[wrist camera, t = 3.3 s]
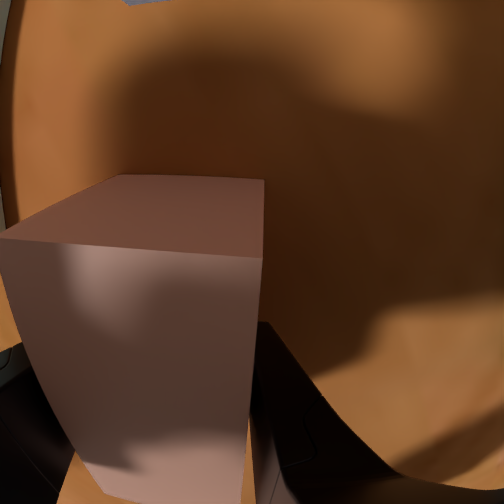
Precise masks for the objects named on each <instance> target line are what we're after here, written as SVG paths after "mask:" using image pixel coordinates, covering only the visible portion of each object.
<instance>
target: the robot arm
mask: <svg viewBox="0 0 504 504" xmlns="http://www.w3.org/2000/svg"><path fill="white" fill-rule="evenodd" d="M249 421H250V435H251V448H252V460H253V473H254V485H255V497H256V504H504V488H502V489H496V490H477V489H469V488H462V487H456V486H450V485H444V484H439V483H434V482H429V481H424V480H419V479H415V478H411V477H407V476H405V475H403V474H401V473H399V472H397V471H396V470H394V469H393V468H391V467H390V466H389V465H388V464H387V463H385V462H384V461H383V460H382V459H381V458H380V457H379V456H378V455H377V454H376V453H375V452H374V451H373V450H372V449H371V448H370V447H369V446H368V445H367V444H366V443H364V442H363V441H362V440H361V439H360V438H359V437H358V436H357V435H356V434H355V433H354V432H353V431H352V430H351V429H350V428H349V426H348V425H347V424H346V423H345V422H344V421H343V420H342V419H341V418H340V417H339V415H338V414H337V413H336V412H335V411H334V409H333V408H332V407H331V406H330V404H329V403H328V402H327V400H326V399H325V398H324V396H322V394H321V393H320V391H319V390H318V389H317V387H316V386H315V385H314V383H313V382H312V381H311V379H310V378H309V377H308V375H307V374H306V373H305V371H304V370H303V368H302V367H301V366H300V364H299V363H298V362H297V360H296V359H295V358H294V356H293V355H292V354H291V352H290V351H289V349H288V348H287V347H286V345H285V344H284V343H283V341H282V340H281V339H280V337H279V336H278V334H277V333H276V332H275V330H274V329H273V328H272V326H271V325H270V323H269V322H263V321H257V332H256V343H255V355H254V366H253V377H252V388H251V399H250V409H249ZM74 452H75V449H74V447H73V445H72V444H71V442H70V440H69V439H68V437H67V435H66V434H65V432H64V430H63V428H62V426H61V425H60V423H59V421H58V419H57V417H56V415H55V414H54V412H53V410H52V408H51V406H50V404H49V402H48V400H47V398H46V396H45V394H44V392H43V389H42V387H41V385H40V383H39V381H38V379H37V376H36V374H35V372H34V370H33V367H32V365H31V362H30V360H29V358H28V355H27V353H26V350H25V348H24V345H23V342H21V343H19V344H17V345H14V346H13V347H10V348H8V349H6V350H4V351H2V352H0V504H56V503H57V500H58V497H59V493H60V491H61V488H62V485H63V482H64V479H65V476H66V474H67V471H68V468H69V465H70V463H71V460H72V457H73V455H74Z"/></svg>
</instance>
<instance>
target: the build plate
mask: <svg viewBox="0 0 504 504" xmlns="http://www.w3.org/2000/svg"><path fill="white" fill-rule="evenodd" d="M10 3H11V0H0V63H1V55H2V47H3V40H4V34H5V28H6V23H7V17H8V13H9V8H10ZM5 230H6V226H5V220H4V213H3V206H2V198H1V189H0V233H1V232H3V231H5Z"/></svg>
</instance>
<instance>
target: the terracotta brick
mask: <svg viewBox="0 0 504 504" xmlns="http://www.w3.org/2000/svg"><path fill="white" fill-rule="evenodd" d="M263 224H264V180H262V179H247V178H231V177H211V176H185V175H117V176H114V177H112V178H110V179H107V180H105V181H103V182H100V183H98V184H96V185H94V186H91V187H89V188H87V189H85V190H83V191H81V192H78V193H76V194H74V195H72V196H70V197H68V198H66V199H64V200H62V201H60V202H58V203H56V204H54V205H52V206H50V207H48V208H46V209H44V210H42V211H40V212H38V213H36V214H34V215H32V216H30V217H28V218H26V219H25V220H23V221H21V222H19V223H17V224H15V225H14V226H12V227H10V228H8V229H7V230H5V231H3V232H1V233H0V272H1V276H2V280H3V284H4V287H5V291H6V294H7V298H8V301H9V304H10V308H11V311H12V314H13V317H14V320H15V323H16V326H17V329H18V331H19V334H20V337H21V340H22V342H23V345H24V348H25V350H26V353H27V355H28V358H29V360H30V362H31V365H32V367H33V370H34V372H35V374H36V376H37V379H38V381H39V383H40V385H41V387H42V389H43V392H44V394H45V396H46V398H47V400H48V402H49V404H50V406H51V408H52V410H53V412H54V414H55V415H56V417H57V419H58V421H59V423H60V425H61V426H62V428H63V430H64V432H65V434H66V435H67V437H68V439H69V440H70V442H71V444H72V445H73V447H74V449H75V450H76V452H77V454H78V455H79V457H80V458H81V460H82V461H83V463H84V465H85V466H86V468H87V469H88V471H89V472H90V474H91V475H92V476H93V478H94V479H95V481H96V482H97V484H98V485H99V486H100V488H101V489H102V491H103V492H104V493H105V494H108V495H111V496H115V497H118V498H122V499H126V500H129V501H133V502H137V503H141V504H240V501H241V491H242V481H243V471H244V461H245V451H246V441H247V431H248V420H249V409H250V399H251V388H252V377H253V366H254V355H255V343H256V332H257V320H258V309H259V297H260V285H261V273H262V261H263Z"/></svg>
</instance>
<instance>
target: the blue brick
mask: <svg viewBox="0 0 504 504" xmlns="http://www.w3.org/2000/svg"><path fill="white" fill-rule="evenodd" d="M122 1H124V2H125V3H126V4H128V5H129V6H131V5H137V4H144V3H151V2H159V1H169V0H122Z"/></svg>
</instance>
